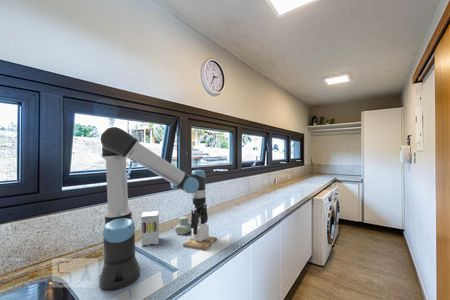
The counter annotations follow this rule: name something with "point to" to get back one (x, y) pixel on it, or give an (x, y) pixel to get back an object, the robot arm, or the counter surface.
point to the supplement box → (150, 228)
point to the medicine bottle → (202, 229)
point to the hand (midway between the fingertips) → (200, 236)
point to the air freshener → (183, 226)
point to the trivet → (200, 243)
